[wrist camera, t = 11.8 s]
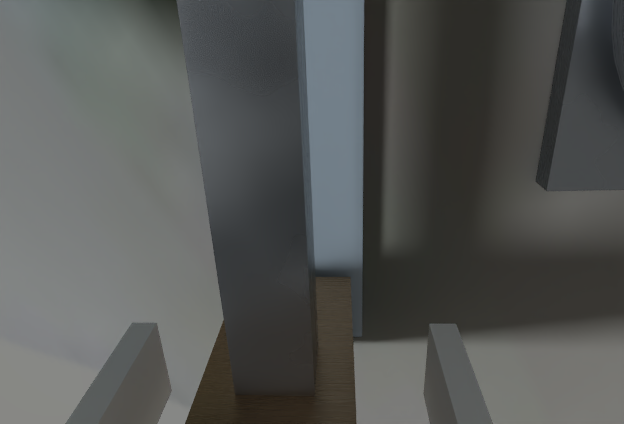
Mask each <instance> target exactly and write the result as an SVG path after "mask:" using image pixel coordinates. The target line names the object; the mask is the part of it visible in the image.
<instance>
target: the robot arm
mask: <svg viewBox="0 0 624 424" xmlns="http://www.w3.org/2000/svg"><path fill="white" fill-rule="evenodd" d="M171 391H172V389H171V385H170V380H169V376H168V371H167V367H166V363H165V358H164V354H163V349H162V345H161V340H160V336H159V331H158V327H157V323H132V324H131V325H130V327H129V328H128V330H127V331H126V333H125V334H124V336H123V337H122V339H121V340H120V342H119V343H118V345H117V347H116V348H115V350H114V351H113V353H112V354H111V356H110V357H109V359H108V360H107V362H106V363H105V365H104V366H103V368H102V369H101V371H100V372H99V374H98V375H97V377H96V378H95V380H94V381H93V383H92V384H91V386H90V387H89V389H88V390H87V392H86V394H85V395H84V396H83V398H82V400H81V401H80V403H79V404H78V406H77V407H76V409H75V410H74V412H73V413H72V415H71V416H70V418H69V419H68V421H67V422H66V424H157V423H158V421H159V419H160V416H161V414H162V412H163V409H164V407H165V405H166V403H167V400H168V398H169V396H170V394H171ZM424 398H425V403H426V407H427V412H428V416H429V421H430V424H493V423H492V420H491V417H490V414H489V412H488V409H487V406H486V404H485V401H484V398H483V395H482V393H481V390H480V387H479V385H478V382H477V379H476V376H475V374H474V371H473V368H472V366H471V363H470V360H469V357H468V355H467V352H466V349H465V347H464V344H463V341H462V338H461V336H460V333H459V330H458V328H457V325H456V324H429V334H428V346H427V358H426V371H425V383H424Z"/></svg>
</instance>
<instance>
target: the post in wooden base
mask: <svg viewBox="0 0 624 424" xmlns="http://www.w3.org/2000/svg"><path fill="white" fill-rule="evenodd" d="M177 6H178V12H179V19H180V26H181V33H182V40H183V46H184V53H185V60H186V67H187V73H188V80H189V87H190V94H191V100H192V107H193V114H194V121H195V127H196V134H197V141H198V148H199V154H200V161H201V168H202V175H203V181H204V188H205V195H206V202H207V208H208V215H209V222H210V229H211V235H212V242H213V249H214V256H215V262H216V269H217V276H218V283H219V289H220V296H221V303H222V310H223V316H224V321H223V323H222V326H221V329H220V331H219V334H218V337H217V339H216V342H215V345H214V347H213V350H212V353H211V355H210V358H209V361H208V364H207V366H206V369H205V372H204V374H203V377H202V380H201V382H200V385H199V388H198V390H197V393H196V396H195V398H194V401H193V404H192V406H191V409H190V412H189V415H188V417H187V420H186V423H185V424H356V402H355V377H354V351H353V326H352V301H351V277H315V256H314V234H313V211H312V188H311V166H310V143H309V120H308V98H307V75H306V52H305V30H304V7H303V0H177Z"/></svg>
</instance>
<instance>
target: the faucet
mask: <svg viewBox="0 0 624 424" xmlns="http://www.w3.org/2000/svg"><path fill="white" fill-rule="evenodd" d="M611 32H612V43H613V53H614V61H615V65H616V69H617V73H618V77H619V81H620V84H621V86H622V89H623V91H624V0H613V6H612V30H611Z"/></svg>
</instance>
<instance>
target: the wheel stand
mask: <svg viewBox="0 0 624 424" xmlns="http://www.w3.org/2000/svg"><path fill="white" fill-rule="evenodd" d="M612 6H613V0H567V3H566V9H565V15H564V20H563V26H562V32H561V38H560V44H559V49H558V55H557V61H556V67H555V73H554V78H553V84H552V90H551V96H550V102H549V107H548V113H547V119H546V125H545V131H544V136H543V142H542V148H541V154H540V160H539V165H538V171H537V177H536V182H537V183H538V184H539V185H540V186H541V187H543V188H544V189H545V190H546V191H577V190H624V91H623V89H622V86H621V84H620V81H619V77H618V73H617V69H616V65H615V61H614V53H613V43H612V32H611V30H612Z"/></svg>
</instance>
